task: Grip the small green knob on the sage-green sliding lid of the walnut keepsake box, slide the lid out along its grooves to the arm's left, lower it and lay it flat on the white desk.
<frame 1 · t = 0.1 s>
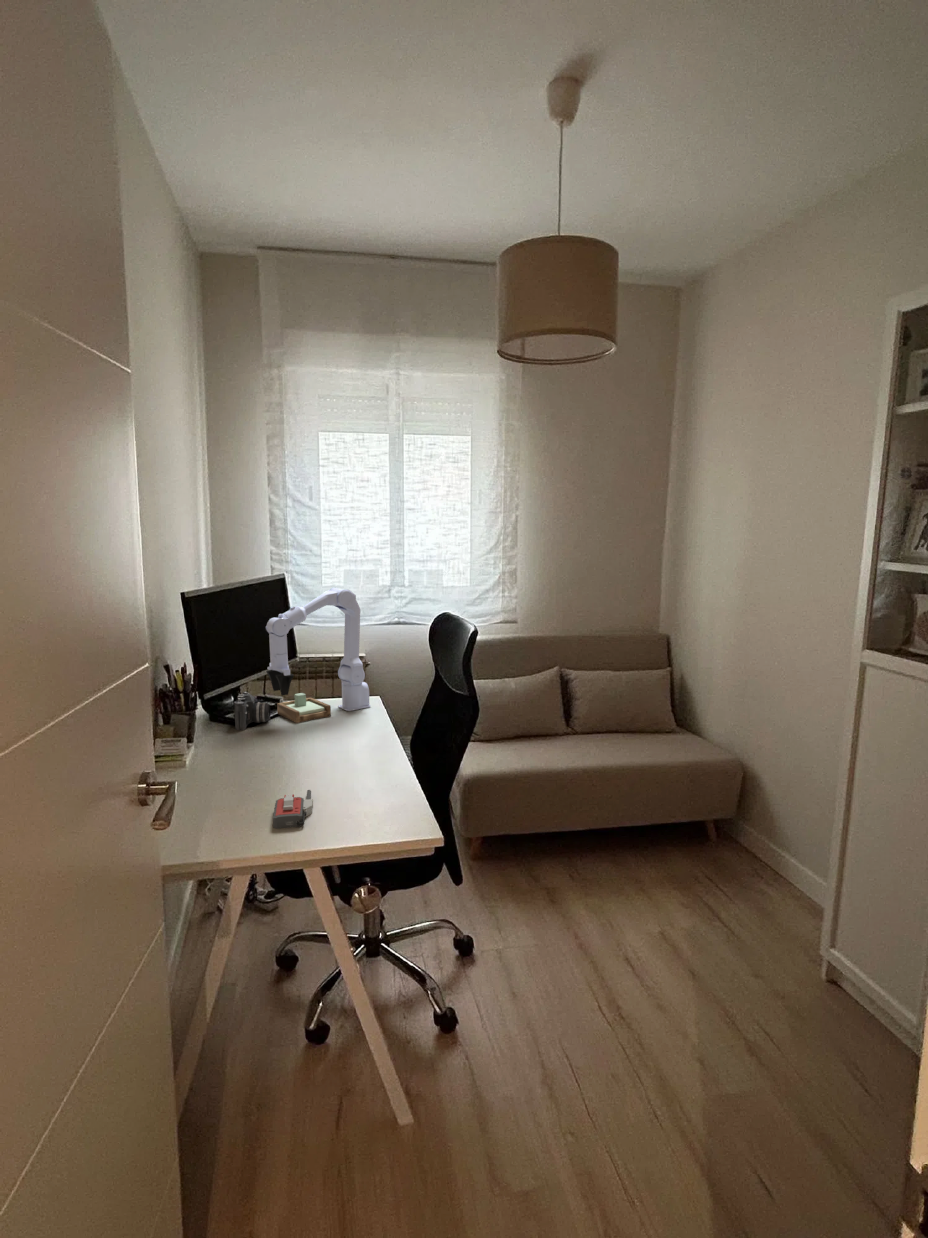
hand: (280, 692, 244), 10 cm above the table, fingers open, 7 cm apart
camera: (253, 724, 243), on the table
box: (304, 715, 253), on the table
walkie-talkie: (294, 814, 170), on the table
lid: (303, 709, 252), point 2 cm above the table, touching box
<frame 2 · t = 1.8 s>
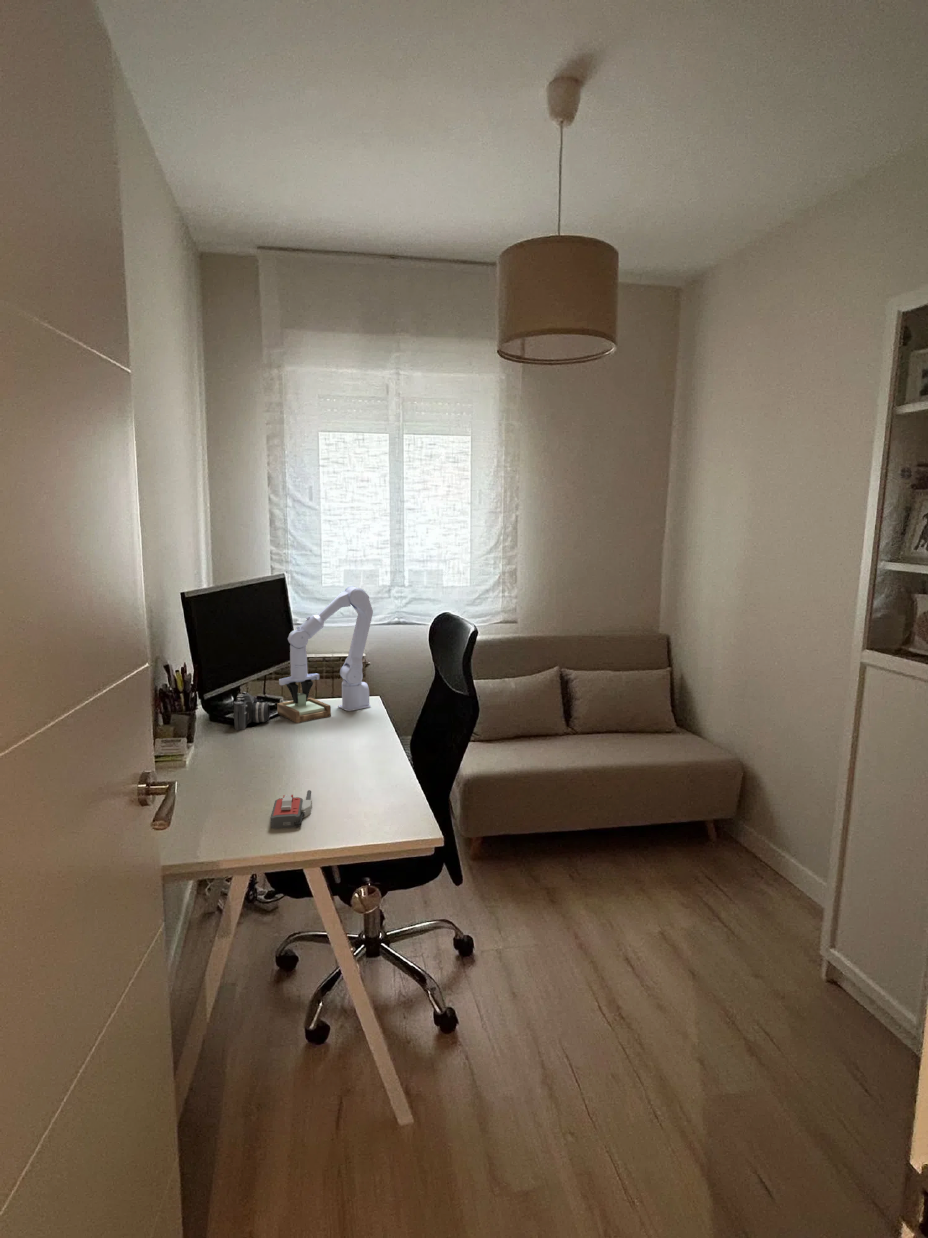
hand: (300, 702, 254), 4 cm above the table, fingers closed on lid, 3 cm apart
lid: (303, 709, 252), point 2 cm above the table, touching box, gripper
everything else where it was.
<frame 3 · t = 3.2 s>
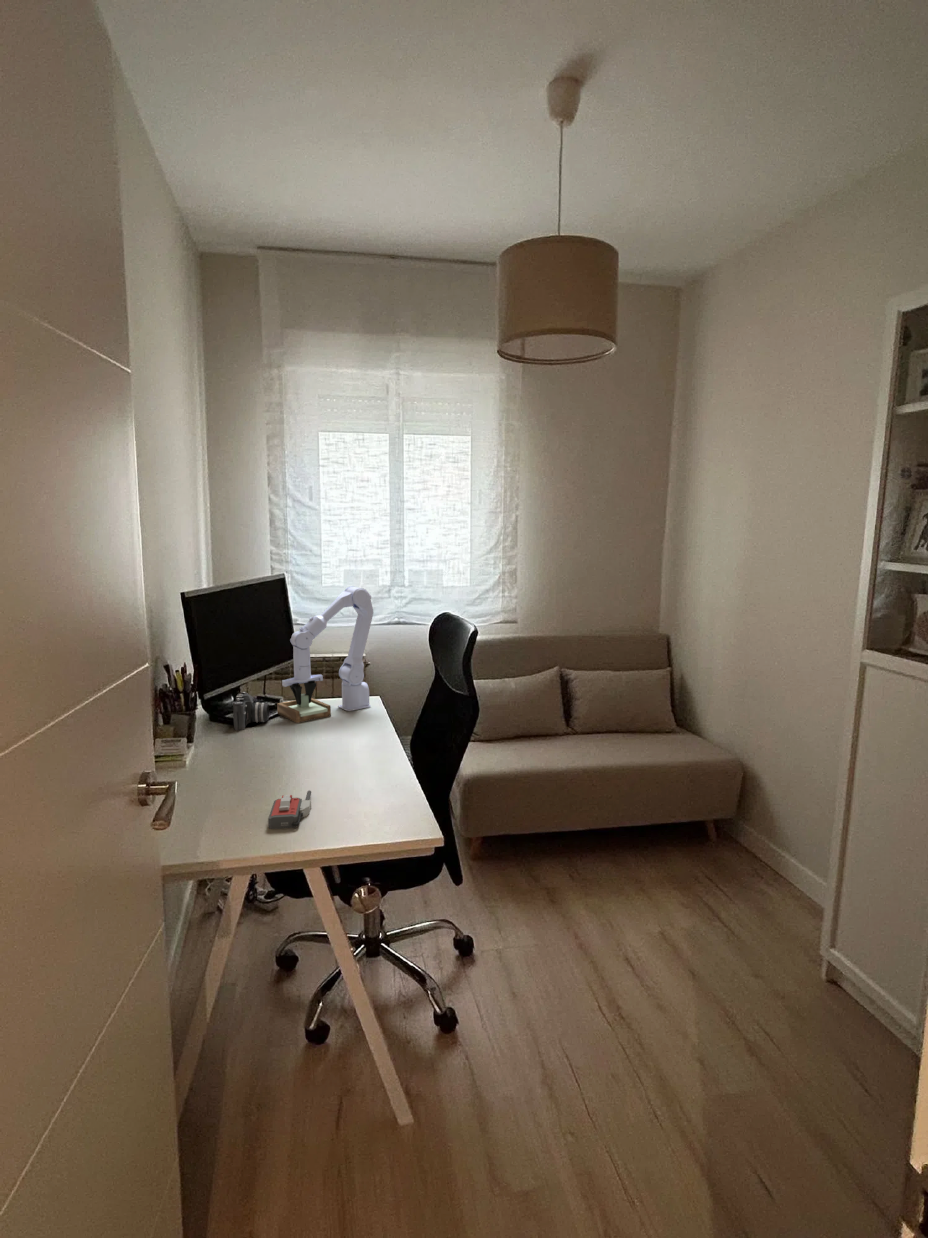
hand: (303, 703, 252), 4 cm above the table, fingers closed on lid, 3 cm apart
lid: (306, 710, 251), point 2 cm above the table, touching gripper
everything else where it was.
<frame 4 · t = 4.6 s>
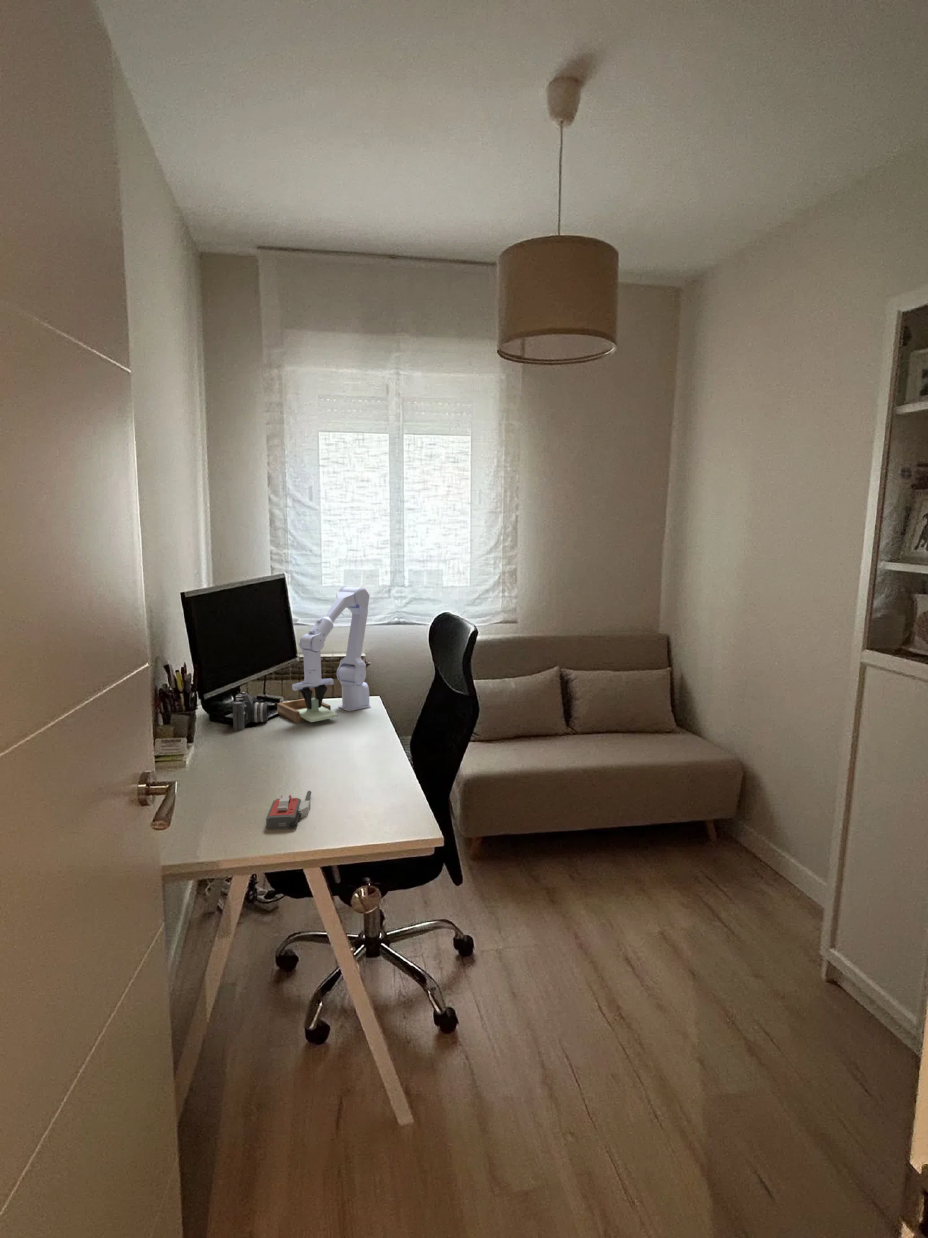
hand: (314, 707, 246), 4 cm above the table, fingers closed on lid, 3 cm apart
lid: (316, 715, 245), point 2 cm above the table, touching gripper
everything else where it was.
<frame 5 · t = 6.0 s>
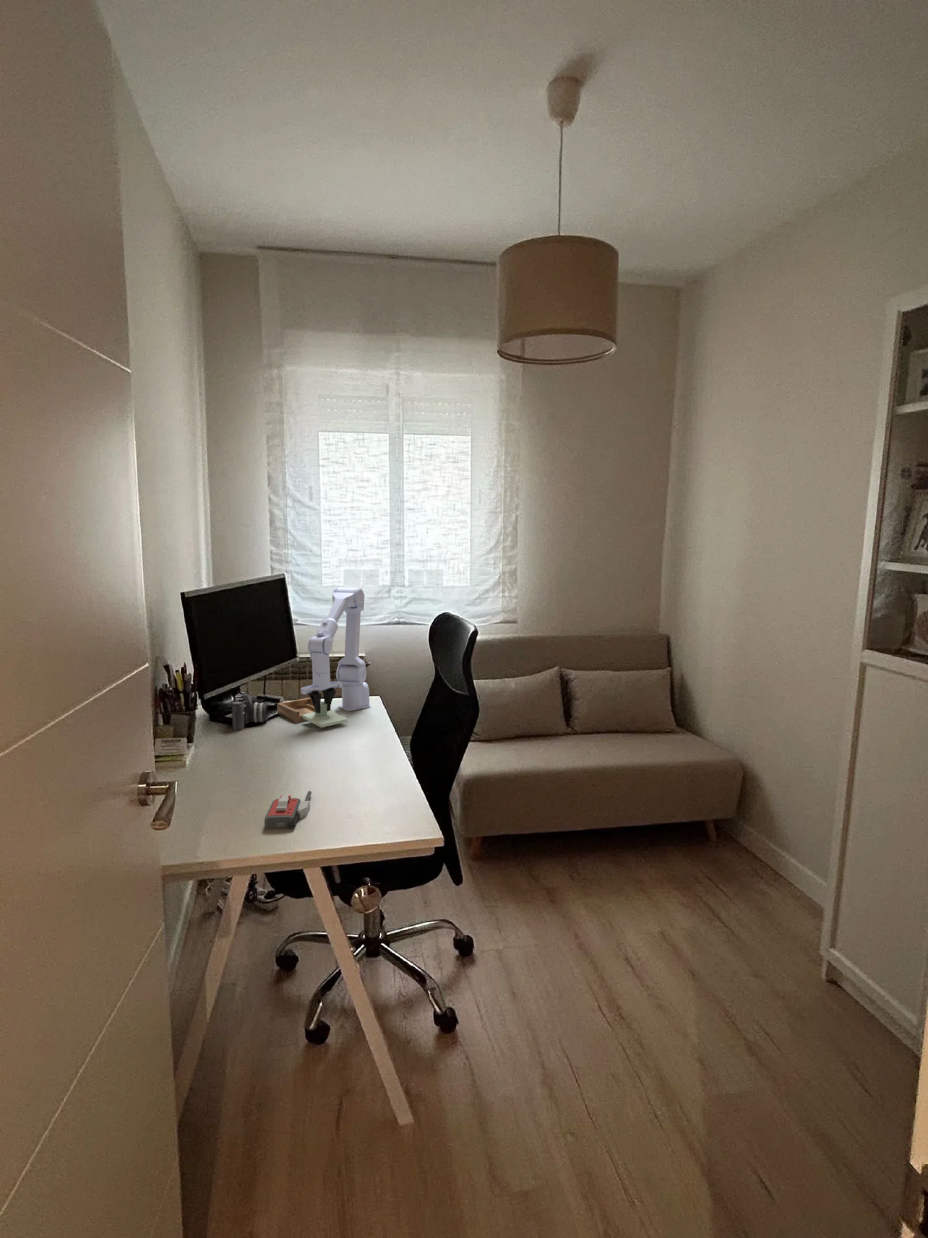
hand: (322, 711, 241), 4 cm above the table, fingers closed on lid, 3 cm apart
lid: (324, 719, 241), point 2 cm above the table, touching gripper
when the fingers open (4 cm above the table, at t = 7.3 s): lid drops 2 cm, on the table.
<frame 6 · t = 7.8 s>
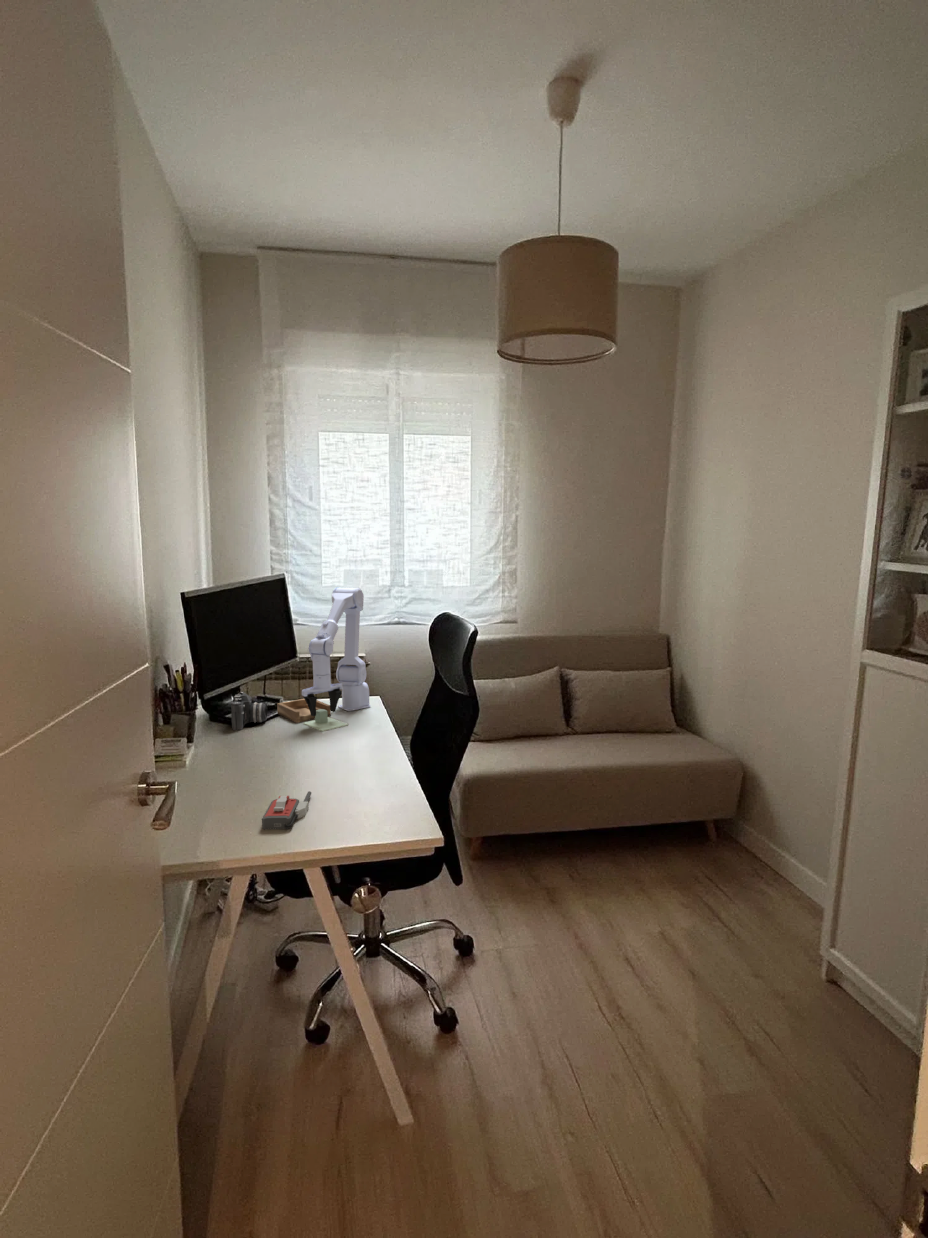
hand: (323, 713, 241), 4 cm above the table, fingers open, 7 cm apart
lid: (325, 726, 241), on the table
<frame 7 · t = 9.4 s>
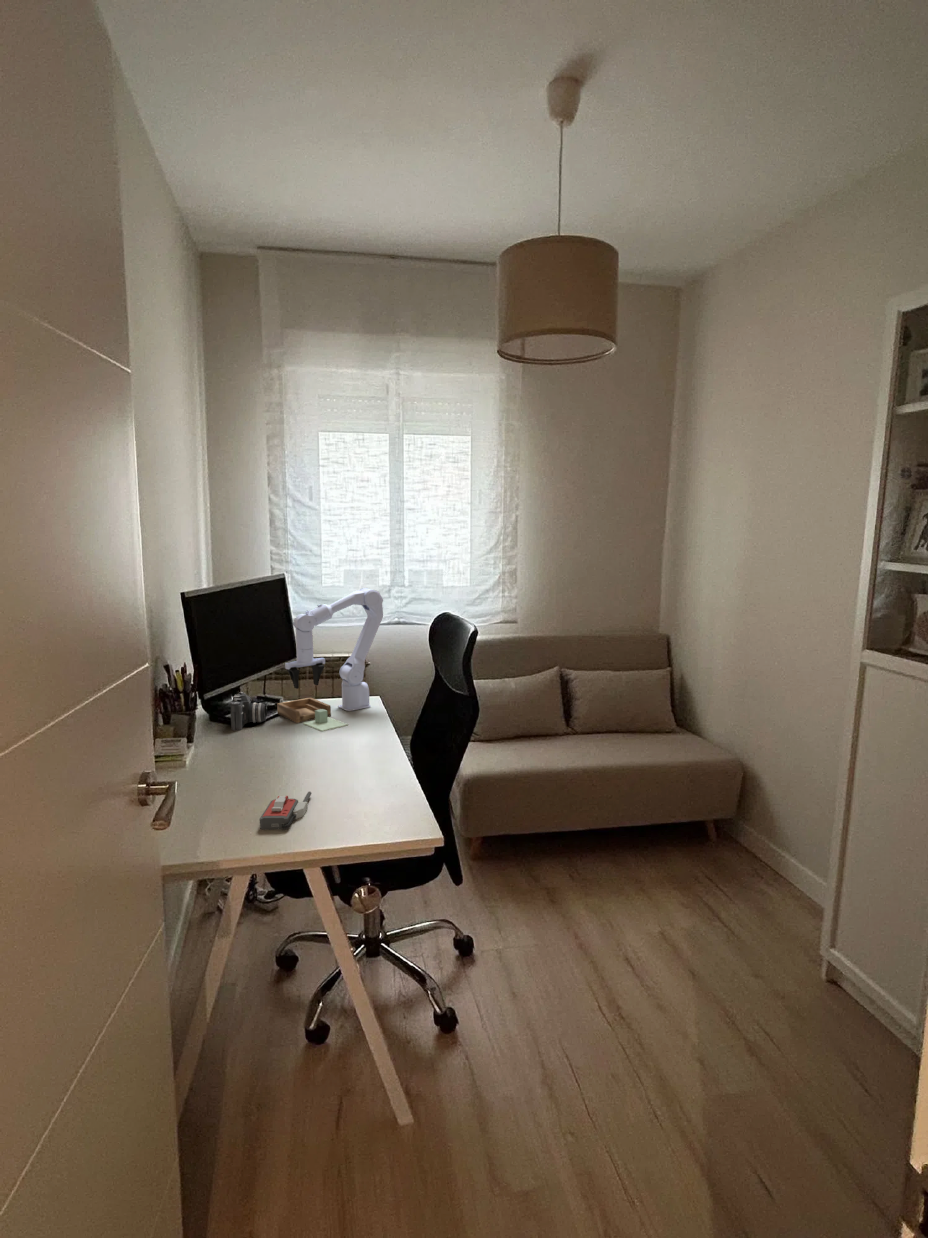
hand: (306, 686, 253), 10 cm above the table, fingers open, 7 cm apart
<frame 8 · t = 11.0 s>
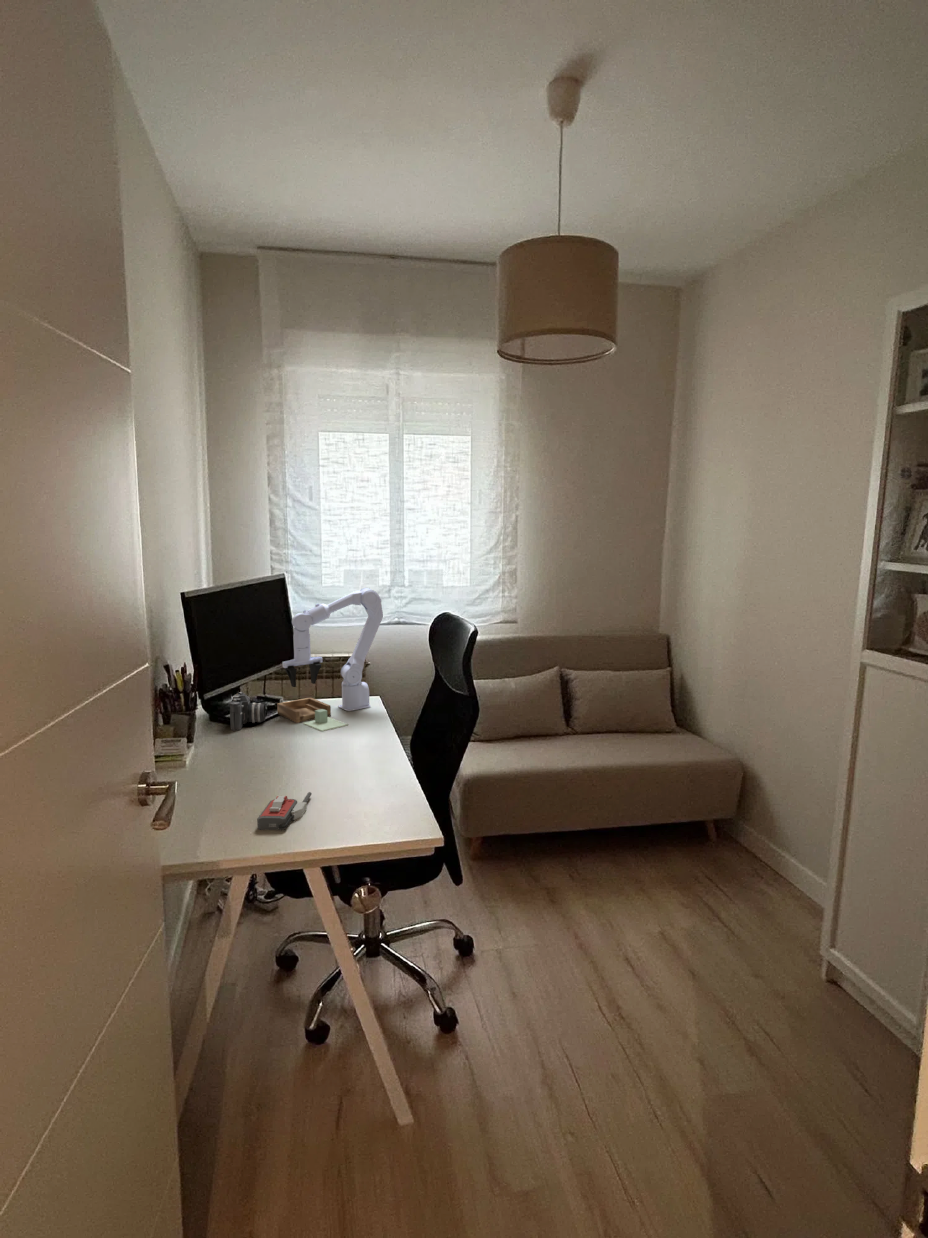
hand: (303, 684, 255), 10 cm above the table, fingers open, 7 cm apart
at the end: lid inside the target area (1.4 cm from its centre), on the table; lid tilted 0°; the gripper is holding nothing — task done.
